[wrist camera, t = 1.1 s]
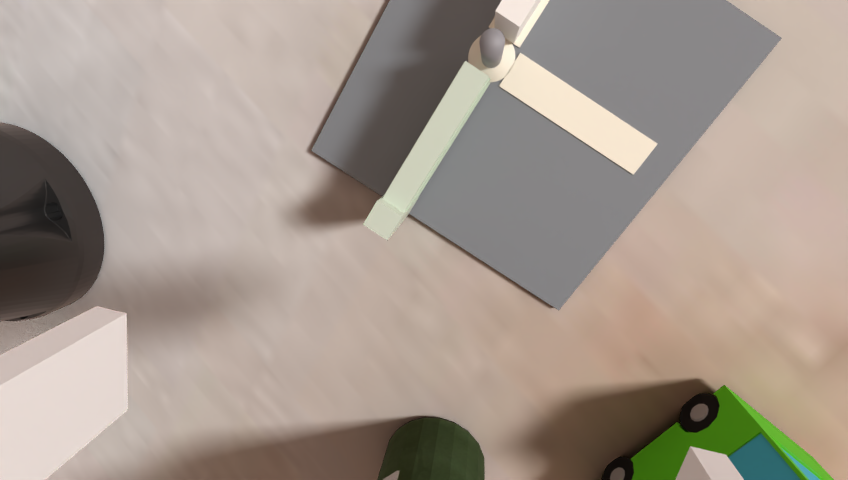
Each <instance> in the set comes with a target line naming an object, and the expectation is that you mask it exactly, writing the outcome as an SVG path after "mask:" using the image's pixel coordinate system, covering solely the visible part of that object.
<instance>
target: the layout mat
mask: <svg viewBox="0 0 848 480" xmlns="http://www.w3.org/2000/svg"><path fill="white" fill-rule="evenodd" d="M501 1H502V0H390V1H389V3H388V5H387V7H386V9H385V11H384V12H383V14H382V16H381V18H380V20H379V22H378V24H377V26H376V28H375V30H374V32H373V33H372V35H371V37H370V39H369V41H368V43H367V45H366V47H365V49H364V51H363V53H362V55H361V56H360V58H359V60H358V62H357V64H356V66H355V68H354V70H353V72H352V74H351V76H350V77H349V79H348V81H347V83H346V85H345V87H344V89H343V91H342V93H341V95H340V97H339V98H338V100H337V102H336V104H335V106H334V108H333V110H332V112H331V114H330V116H329V118H328V119H327V121H326V123H325V125H324V127H323V129H322V131H321V133H320V135H319V137H318V139H317V141H316V142H315V144H314V146H313V148H312V150H311V151H313V152H314V153H316V154H317V155H319V156H320V157H322V158H323V159H325V160H327V161H328V162H330V163H331V164H333V165H334V166H336V167H337V168H339V169H341V170H342V171H344V172H345V173H347V174H348V175H350V176H351V177H353V178H354V179H356V180H358V181H359V182H361V183H362V184H364V185H365V186H367V187H368V188H370V189H371V190H373V191H375V192H376V193H378V194H379V195H381V196H384V194H385V193H386V191H387V189H388V188H389V186H390V184H391V183H392V181H393V179H394V178H395V176H396V174H397V173H398V171H399V169H400V168H401V166H402V164H403V163H404V161H405V159H406V158H407V156H408V154H409V153H410V151H411V149H412V148H413V146H414V144H415V143H416V141H417V139H418V138H419V136H420V134H421V133H422V131H423V129H424V128H425V126H426V124H427V123H428V121H429V119H430V118H431V116H432V114H433V113H434V111H435V109H436V108H437V106H438V104H439V103H440V101H441V99H442V98H443V96H444V94H445V93H446V91H447V90H448V88H449V86H450V85H451V83H452V81H453V80H454V78H455V76H456V75H457V73H458V71H459V70H460V68H461V66H462V65H463V63H464V61H467V62H468V63H470V64H471V65H473V66H474V67H476V68H477V69H479V70H480V71H482V72H483V73H485V74H486V75H488V76H489V78H490V79H491V80H490V81H489V82H490V84H489V86H488V88H487V89H486V91H485V92H484V94H483V96H482V97H481V99H480V100H479V102H478V103H477V105H476V107H475V108H474V110H473V111H472V113H471V115H470V116H469V118H468V119H467V121H466V123H465V124H464V126H463V127H462V129H461V130H460V132H459V134H458V135H457V137H456V138H455V140H454V142H453V143H452V145H451V146H450V148H449V149H448V151H447V153H446V154H445V156H444V157H443V159H442V161H441V162H440V164H439V165H438V167H437V169H436V170H435V172H434V173H433V175H432V176H431V178H430V180H429V181H428V183H427V184H426V186H425V188H424V189H423V191H422V192H421V194H420V196H419V198H418V200H417V201H416V203H415V204H414V206H413V208H412V209H411V211H410V212H409V214H410V215H412V216H413V217H415V218H416V219H418V220H419V221H421V222H423V223H424V224H426V225H427V226H429V227H430V228H432V229H433V230H435V231H437V232H438V233H440V234H441V235H443V236H444V237H446V238H447V239H449V240H450V241H452V242H454V243H455V244H457V245H458V246H460V247H461V248H463V249H464V250H466V251H467V252H469V253H471V254H472V255H474V256H475V257H477V258H478V259H480V260H481V261H483V262H485V263H486V264H488V265H489V266H491V267H492V268H494V269H495V270H497V271H498V272H500V273H502V274H503V275H505V276H506V277H508V278H509V279H511V280H512V281H514V282H515V283H517V284H519V285H520V286H522V287H523V288H525V289H526V290H528V291H529V292H531V293H533V294H534V295H536V296H537V297H539V298H540V299H542V300H543V301H545V302H546V303H548V304H550V305H551V306H553V307H554V308H556V309H557V310H559V309H560V308H561V307H562V306H563V305H564V303H565V302H566V301H567V300H568V298H569V297H570V296H571V295H572V294H573V292H574V291H575V290H576V289H577V287H578V286H579V285H580V284H581V283H582V281H583V280H584V279H585V278H586V276H587V275H588V274H589V273H590V272H591V270H592V269H593V268H594V267H595V265H596V264H597V263H598V262H599V261H600V259H601V258H602V257H603V256H604V255H605V253H606V252H607V251H608V250H609V248H610V247H611V246H612V245H613V244H614V242H615V241H616V240H617V239H618V237H619V236H620V235H621V234H622V233H623V231H624V230H625V229H626V228H627V226H628V225H629V224H630V223H631V222H632V220H633V219H634V218H635V217H636V215H637V214H638V213H639V212H640V211H641V209H642V208H643V207H644V206H645V204H646V203H647V202H648V201H649V200H650V198H651V197H652V196H653V195H654V193H655V192H656V191H657V190H658V189H659V187H660V186H661V185H662V184H663V182H664V181H665V180H666V179H667V178H668V176H669V175H670V174H671V173H672V171H673V170H674V169H675V168H676V167H677V165H678V164H679V163H680V162H681V161H682V159H683V158H684V157H685V156H686V154H687V153H688V152H689V151H690V150H691V148H692V147H693V146H694V145H695V143H696V142H697V141H698V140H699V139H700V137H701V136H702V135H703V134H704V132H705V131H706V130H707V129H708V128H709V126H710V125H711V124H712V123H713V121H714V120H715V119H716V118H717V117H718V115H719V114H720V113H721V112H722V110H723V109H724V108H725V107H726V106H727V104H728V103H729V102H730V101H731V99H732V98H733V97H734V96H735V95H736V93H737V92H738V91H739V90H740V88H741V87H742V86H743V85H744V84H745V82H746V81H747V80H748V79H749V78H750V76H751V75H752V74H753V73H754V71H755V70H756V69H757V68H758V67H759V65H760V64H761V63H762V62H763V60H764V59H765V58H766V57H767V56H768V54H769V53H770V52H771V51H772V49H773V48H774V47H775V46H776V45H777V43H778V42H779V41H780V40H781V37H779V36H778V35H776V34H775V33H774V32H772V31H771V30H769V29H768V28H766V27H765V26H763V25H762V24H760V23H759V22H757V21H756V20H754V19H753V18H751V17H750V16H749V15H747V14H746V13H744V12H743V11H741V10H740V9H738V8H737V7H735V6H734V5H732V4H731V3H729V2H728V1H726V0H541V2H540V3H539V5H538V6H537V8H536V10H535V11H534V13H533V14H532V16H531V17H530V19H529V21H528V22H527V24H526V25H525V27H524V29H523V30H522V32H521V33H520V35H519V37H518V38H517V40H516V41H515V43H514V44H513V43H512V42H510V41H509V40H507V39H506V38H505V45H504V50H503V54H502V59H501V62H500V64H499V65H498V66H496V67H495V68H488V67H486V66H484V64H483V63H482V59H481V52H480V44H479V41H480V37H481V35H482V34H483V32H484V31H486V30H487V29H490V28H494V25H495V11H496V9H497V7H498V6H499V4H500V2H501Z"/></svg>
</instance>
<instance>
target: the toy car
mask: <svg viewBox="0 0 848 480" xmlns="http://www.w3.org/2000/svg"><path fill="white" fill-rule="evenodd" d="M713 394H714V395H715V396H716V397H717V398H716V397H714V396H713V395H711V394H698V395H696V396H694V397H693V398H692V399H690V400H689V401H688V402H687V403H686V404H685V405H684V406H683V407H682V411H681V414H680V421H681V425H680V424H679V423H678V422H677V423H675V424H674V425H673V426H671V427H670V428H669V429H668V430H666V431H665V432H664V433H663V434H661V435H660V436H659V437H658V438H656V439H655V440H654V441H652V442H651V443H650V444H649V445H647V446H646V447H645V448H644V449H642V450H641V451H640V452H638V453H637V454H636V455H635V456H634V457H632V458H631V460H632V461H631V460H630V459H629V458H624V457H619V458H617V459H615V460H614V461H613V462H611V463H610V464H609V465H608V466H607V467H606V469H605V471H604V474H603V477H602V480H675V479H676V477H677V475H678V473H679V470H680V468H681V466H682V464H683V461H684V459H685V457H686V455H687V452H688V450H689V448H690V446H691V447H696V448H700V449H704V450H708V451H713V452H717V453H721V454H725V455H727V457H728V458H729V459H730V461H731V462H732V464H733V465H734V466H735V468H736V469H737V471H738V472H739V473H740V475H741V476H742V478H743V479H744V480H834V479H833V478H832V477H831V476H830V475H829V474H828V473H827V472H826V471H825V470H824V469H823V468H822V467H821V466H820V465H819V464H818V462H817V461H816V460H815V459H814V458H813V457H812V456H810V455H809V454H808V453H807V452H806V451H804V450H803V449H802V448H801V447H799V446H798V445H797V444H796V443H795V442H793V441H792V440H791V439H790V438H788V437H787V436H786V435H785V434H784V433H782V432H781V431H780V430H779V429H778V428H776V427H775V426H774V425H773V424H771V423H770V422H769V421H768V420H767V419H765V418H764V417H763V416H762V415H760V414H759V413H758V412H757V411H756V410H754V409H753V408H752V407H751V406H749V405H748V404H747V403H746V402H745V401H743V400H742V399H741V398H740V397H739V396H737V395H736V394H735V393H734V392H732V391H731V390H730V389H729V388H728V387H726V386H725V385H724V386H722V387H721V388H720V389H718V390H717V391H716V392H715V393H713Z"/></svg>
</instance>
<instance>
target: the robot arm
mask: <svg viewBox="0 0 848 480" xmlns="http://www.w3.org/2000/svg"><path fill="white" fill-rule="evenodd" d="M103 254H104V234H103V227H102V222H101V218H100V214H99V211H98V208H97V205H96V203H95V200H94V198H93V196H92V194H91V192H90V190H89V188H88V186H87V184H86V183H85V181H84V180H83V178H82V177H81V175H80V174H79V172H78V171H77V170H76V169H75V167H74V166H73V165H72V164H71V163H70V162H69V160H68V159H67V158H66V157H65V156H64V155H63V154H62V153H61V152H59V151H58V150H57V149H56V148H55V147H54V146H52V145H51V144H50V143H48V142H47V141H46V140H44V139H43V138H41V137H39V136H38V135H36V134H34V133H32V132H30V131H28V130H25V129H23V128H21V127H18V126H15V125H11V124H6V123H0V321H20V320H28V319H34V318H37V317H41V316H44V315H47V314H49V313H51V312H54V311H56V310H58V309H60V308H62V307H65V306H67V305H69V304H71V303H73V302H75V301H77V300H78V299H79V298H81V297H82V296H83V295H84V294H85V293H86V292H87V291H88V290H89V289H90V288H91V286H92V285H93V284H94V282H95V280H96V278H97V276H98V274H99V271H100V268H101V265H102V261H103ZM127 410H128V378H127V313H124V312H120V311H115V310H111V309H107V308H103V307H98V306H96V307H94V308H92V309H90V310H88V311H86V312H84V313H82V314H80V315H78V316H76V317H74V318H72V319H70V320H68V321H66V322H64V323H62V324H60V325H58V326H56V327H54V328H52V329H50V330H48V331H46V332H44V333H42V334H40V335H38V336H36V337H34V338H32V339H30V340H28V341H26V342H25V343H23V344H21V345H19V346H17V347H15V348H13V349H11V350H9V351H7V352H5V353H3V354H1V355H0V480H46V479H47V478H48V477H49V476H50V475H51V474H53V473H54V472H55V471H56V470H57V469H59V468H60V467H61V466H62V465H63V464H64V463H66V462H67V461H68V460H69V459H70V458H72V457H73V456H74V455H75V454H76V453H77V452H79V451H80V450H81V449H82V448H83V447H85V446H86V445H87V444H88V443H89V442H90V441H92V440H93V439H94V438H95V437H96V436H98V435H99V434H100V433H101V432H102V431H103V430H105V429H106V428H107V427H108V426H109V425H111V424H112V423H113V422H114V421H115V420H116V419H118V418H119V417H120V416H121V415H122V414H124V413H125V412H126V411H127ZM675 480H744V479H743V478H742V476H741V475H740V473H739V472H738V471H737V469H736V468H735V466H734V465H733V464H732V462H731V461H730V459H729V458H728V457H727V455H725V454H721V453H717V452H713V451H708V450H704V449H700V448H696V447H691V446H690V448H689V450H688V452H687V455H686V457H685V459H684V461H683V464H682V466H681V468H680V470H679V473H678V475H677V477H676V479H675Z"/></svg>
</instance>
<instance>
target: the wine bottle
mask: <svg viewBox="0 0 848 480" xmlns="http://www.w3.org/2000/svg"><path fill="white" fill-rule="evenodd" d="M377 480H484V456H483V453H482V451H481V449H480V446H479V444H478V442H477V441H476V440H475V439H474V438H473V436H472V435H471V434H470V433H469V432H468V431H467V430H465V429H464V428H462V427H461V426H459V425H458V424H456V423H454V422H451V421H448V420H445V419H441V418H421V419H417V420H413V421H410V422H409V423H407V424H405V425H404V426H402V427H401V428H399V429H398V430H397V431H396V432H395V434H394V435H393V436H392V438H391V439H390V440H389V444H388V447H387V450H386V453H385V457H384V460H383V463H382V466H381V470H380V473H379V476H378V479H377Z"/></svg>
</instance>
